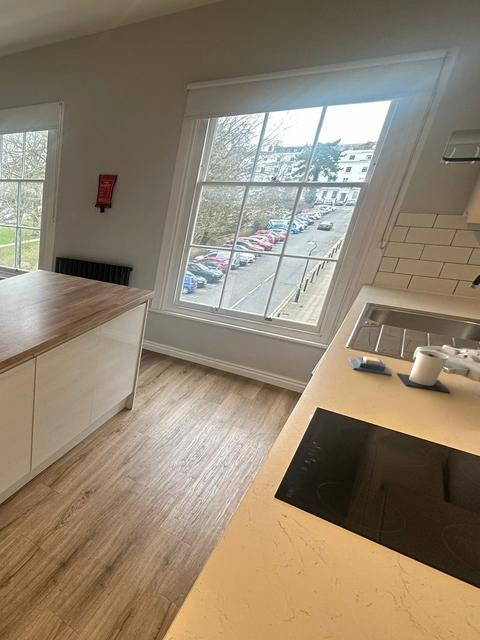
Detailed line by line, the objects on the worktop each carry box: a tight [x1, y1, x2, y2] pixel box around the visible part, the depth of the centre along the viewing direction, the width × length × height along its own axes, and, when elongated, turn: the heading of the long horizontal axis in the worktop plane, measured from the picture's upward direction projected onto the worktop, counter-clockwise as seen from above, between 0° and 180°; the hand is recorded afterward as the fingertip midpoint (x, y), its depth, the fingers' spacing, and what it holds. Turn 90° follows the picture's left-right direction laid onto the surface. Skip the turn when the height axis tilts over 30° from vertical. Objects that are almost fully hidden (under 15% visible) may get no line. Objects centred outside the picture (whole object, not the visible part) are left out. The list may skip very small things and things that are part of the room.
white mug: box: [409, 350, 449, 386], centre depth 132 cm, size 7×7×10 cm
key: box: [362, 355, 381, 365], centre depth 144 cm, size 4×4×2 cm
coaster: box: [396, 372, 451, 395], centre depth 133 cm, size 10×10×1 cm
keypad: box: [347, 356, 393, 377], centre depth 145 cm, size 10×10×2 cm
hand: (430, 363), depth 131 cm, fingers open, 8 cm apart
